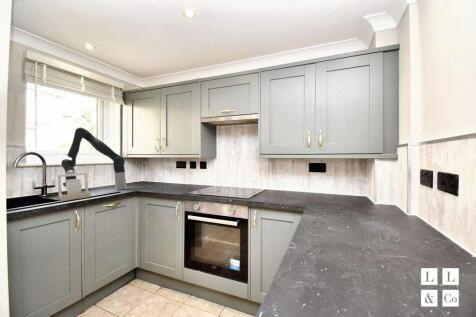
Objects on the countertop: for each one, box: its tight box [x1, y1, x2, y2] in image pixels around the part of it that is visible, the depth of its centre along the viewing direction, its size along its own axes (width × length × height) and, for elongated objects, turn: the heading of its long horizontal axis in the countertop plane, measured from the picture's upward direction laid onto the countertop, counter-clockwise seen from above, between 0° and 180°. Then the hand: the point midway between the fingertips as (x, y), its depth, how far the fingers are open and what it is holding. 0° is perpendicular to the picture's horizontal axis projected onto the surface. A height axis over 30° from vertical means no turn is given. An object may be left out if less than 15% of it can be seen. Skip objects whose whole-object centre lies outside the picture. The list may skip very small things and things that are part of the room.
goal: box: [57, 172, 92, 201], centre depth 178 cm, size 14×20×20 cm
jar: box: [65, 178, 83, 195], centre depth 181 cm, size 11×10×15 cm
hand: (72, 191), depth 185 cm, fingers closed
